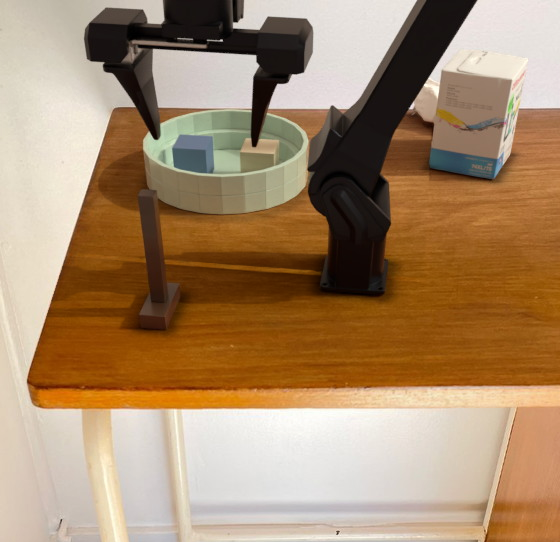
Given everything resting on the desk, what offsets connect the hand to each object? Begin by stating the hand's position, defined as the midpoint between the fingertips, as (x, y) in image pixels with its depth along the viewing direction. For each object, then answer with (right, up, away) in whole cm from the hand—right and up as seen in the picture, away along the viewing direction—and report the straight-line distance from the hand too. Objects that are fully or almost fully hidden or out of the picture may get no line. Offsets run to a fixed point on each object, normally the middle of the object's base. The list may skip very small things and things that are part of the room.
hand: (205, 141), depth 78 cm
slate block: (-3, +6, +24) cm, 26 cm away
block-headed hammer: (-5, -15, +4) cm, 16 cm away
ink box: (+31, +9, +29) cm, 43 cm away
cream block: (+4, +6, +24) cm, 25 cm away
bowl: (+1, +5, +25) cm, 25 cm away
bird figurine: (+28, +17, +37) cm, 50 cm away
